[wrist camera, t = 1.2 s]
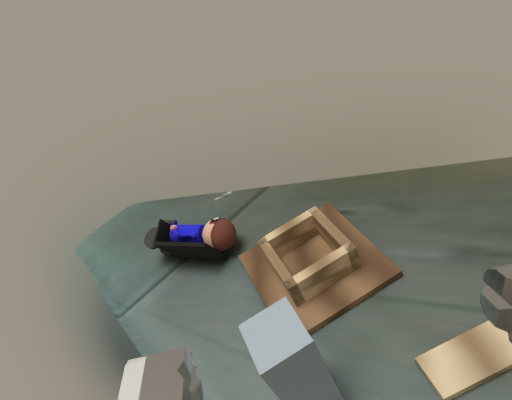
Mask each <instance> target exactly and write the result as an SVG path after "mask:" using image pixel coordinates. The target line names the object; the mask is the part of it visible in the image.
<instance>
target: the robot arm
mask: <svg viewBox="0 0 512 400" xmlns="http://www.w3.org/2000/svg"><path fill="white" fill-rule="evenodd" d="M483 281H484V282H485V283H486V284H487V286H486V287H485V288H484V289H483V291H482V292H481V296H480V304H481V307H482V310H483V313H484V314H485V316H486V317H487V319H488V320H489V321H490V322H491V323H492V324H493V325H494V326H495V327H496V328H499V329H501V330H503V331H506V332H508V337H509V341H510V342H511V343H512V262H511V263H507V264H503V265H499V266H496V267H492V268H488V269H487V270H486V271H485V272H484V276H483ZM118 400H203V391H202V384H201V379H200V375H199V372H198V369H197V367H196V366H194V365H192V354H191V352H190V350H189V348H188V347H182V348H178V349H173V350H169V351H165V352H160V353H156V354H152V355H148V356H144V357H140V358H136V359H131V360H128V362H127V364H126V366H125V368H124V374H123V378H122V382H121V387H120V392H119V396H118Z"/></svg>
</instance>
